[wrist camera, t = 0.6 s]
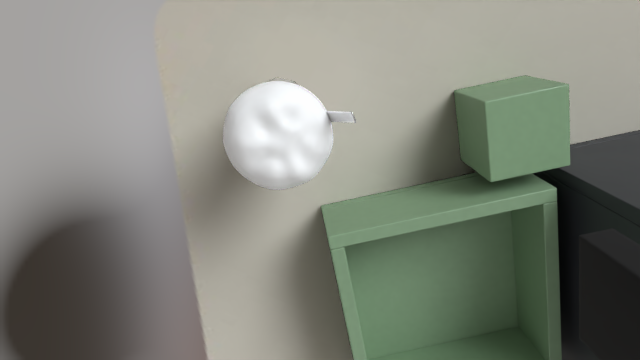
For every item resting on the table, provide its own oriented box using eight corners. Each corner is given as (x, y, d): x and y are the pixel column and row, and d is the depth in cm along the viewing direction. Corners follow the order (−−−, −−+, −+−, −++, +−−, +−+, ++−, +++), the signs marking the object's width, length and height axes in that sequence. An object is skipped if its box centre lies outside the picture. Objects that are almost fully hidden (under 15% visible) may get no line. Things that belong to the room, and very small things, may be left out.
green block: (453, 90, 27) (484, 101, 23) (525, 74, 27) (569, 83, 23) (460, 160, 29) (490, 183, 24) (529, 145, 29) (571, 165, 24)
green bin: (320, 205, 29) (327, 236, 24) (516, 163, 29) (557, 187, 25) (354, 365, 33) (365, 416, 29) (525, 327, 33) (562, 373, 29)
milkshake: (343, 121, 27) (374, 171, 18) (260, 155, 28) (247, 222, 18) (314, 47, 26) (332, 59, 16) (227, 83, 26) (195, 115, 17)
